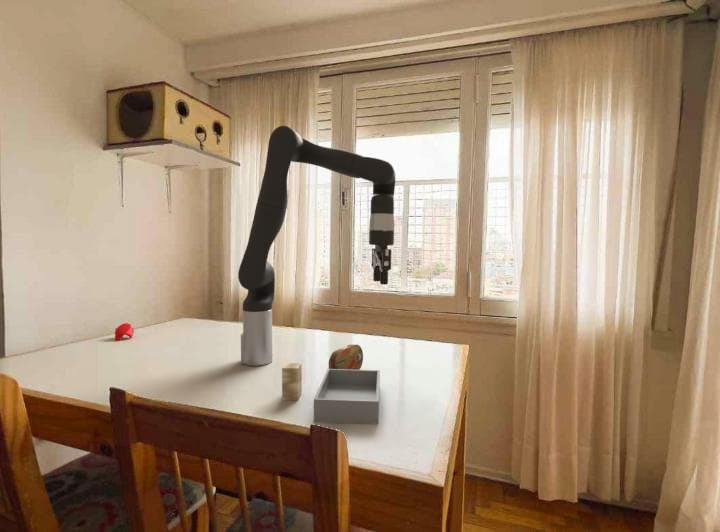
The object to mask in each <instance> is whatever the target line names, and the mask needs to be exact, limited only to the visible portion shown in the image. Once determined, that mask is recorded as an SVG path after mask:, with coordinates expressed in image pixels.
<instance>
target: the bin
mask: <svg viewBox="0 0 720 532" xmlns="http://www.w3.org/2000/svg"><path fill="white" fill-rule="evenodd" d="M380 376H381V370H380V369H378V370H376V369H360V370H348V369H329V368H327V370H326V372H325V374H324V376H323V378H322V381H321V383H320V385H319V387H318V390H317V391H316V394H315V396H314V397H313V423H335V424H337V423H338V424H362V425H363V424H364V425H379V419H380V418H379V417H380V416H379V413H380V389H381V388H380V387H381V386H380V383H381V381H380V379H381V378H380Z"/></svg>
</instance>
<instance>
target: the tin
mask: <svg viewBox="0 0 720 532" xmlns="http://www.w3.org/2000/svg"><path fill="white" fill-rule="evenodd" d="M363 361H364V353H363V348H362V347H361V346H360V345H359V344H348V345H345V346H343V347H340V348H339V349H336V350H335V351H333V352H332V353H331V355H330V357H329V359H328V369H348V370H361V367H362V366H363V363H364V362H363Z"/></svg>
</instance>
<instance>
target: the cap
mask: <svg viewBox="0 0 720 532" xmlns="http://www.w3.org/2000/svg"><path fill="white" fill-rule="evenodd" d="M114 330H115V331H114V341H115V342H118V341H120V340H121V339H122V338H123V337H124V336H127V337H129V339H132V338H133V335H134V333H135V329H134V328H133V327H132V324H130V323H128V322H125V323H122V324H120V325H119V326H117V327H116V328H114Z"/></svg>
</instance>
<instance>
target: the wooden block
mask: <svg viewBox="0 0 720 532" xmlns="http://www.w3.org/2000/svg"><path fill="white" fill-rule="evenodd" d="M302 365H303V364H302V363H296V362H295V363H294V362H285V364H284V365H283V366H282V368H281V398H282V399H281V400H282V401H299V399H300V398H301V396H302V394H303V393H302V391H303V389H302V384H303V383H302V382H303V381H302V380H303V379H302V375H303V374H302V373H303V372H302Z"/></svg>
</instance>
